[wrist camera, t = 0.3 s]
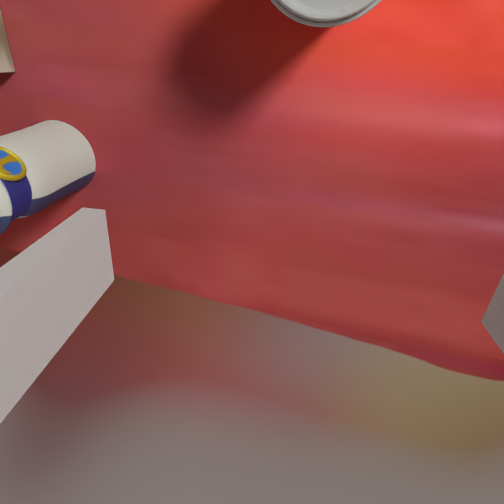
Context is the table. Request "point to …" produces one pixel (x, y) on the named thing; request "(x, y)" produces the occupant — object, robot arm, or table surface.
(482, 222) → the table surface
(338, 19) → the coffee cup
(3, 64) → the dial board
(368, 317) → the table surface
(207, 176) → the table surface
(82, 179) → the water bottle
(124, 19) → the table surface
